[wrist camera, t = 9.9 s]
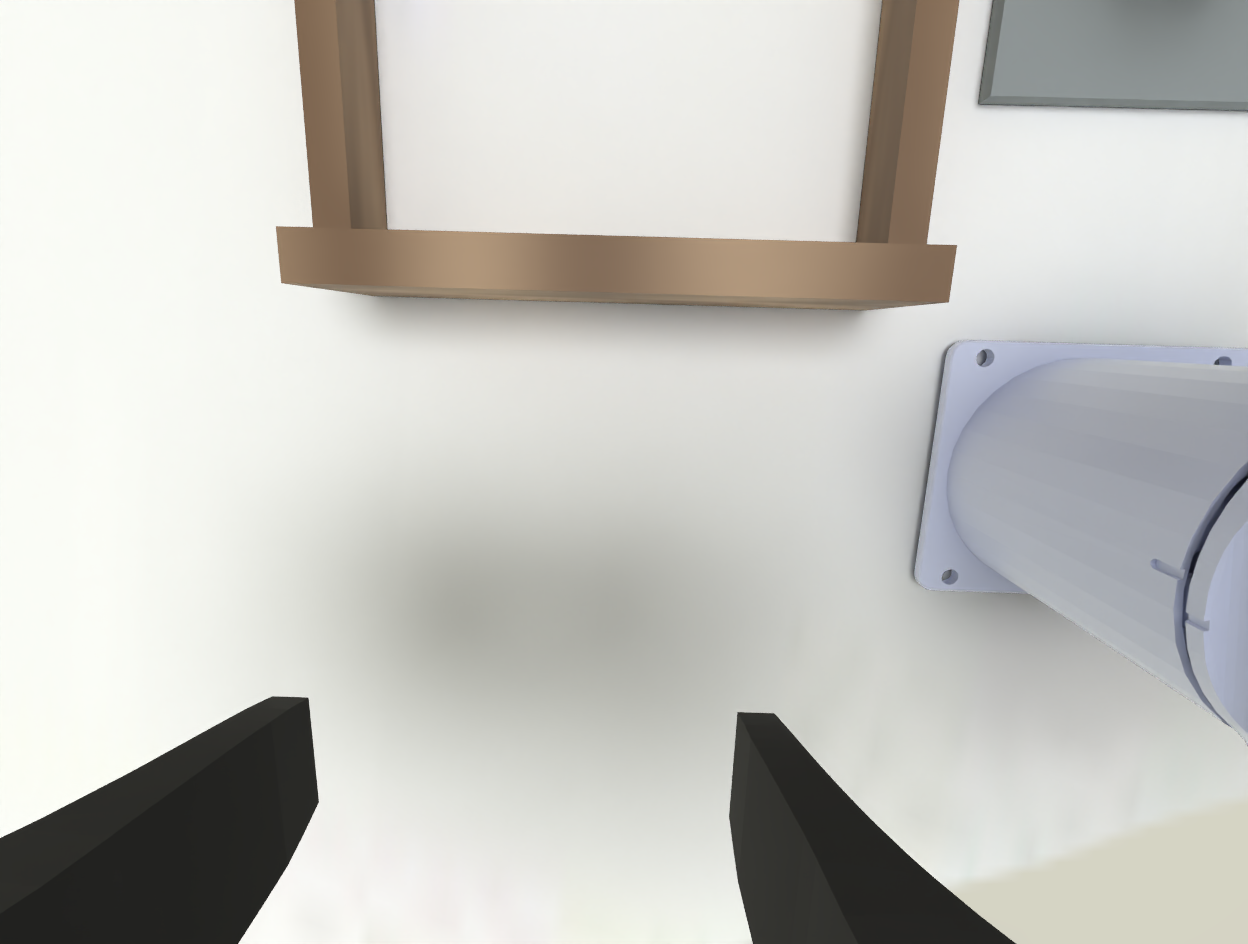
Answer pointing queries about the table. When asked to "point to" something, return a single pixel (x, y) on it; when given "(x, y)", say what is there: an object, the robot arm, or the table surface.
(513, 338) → the table surface
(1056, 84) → the slate mat
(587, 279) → the walnut rack
